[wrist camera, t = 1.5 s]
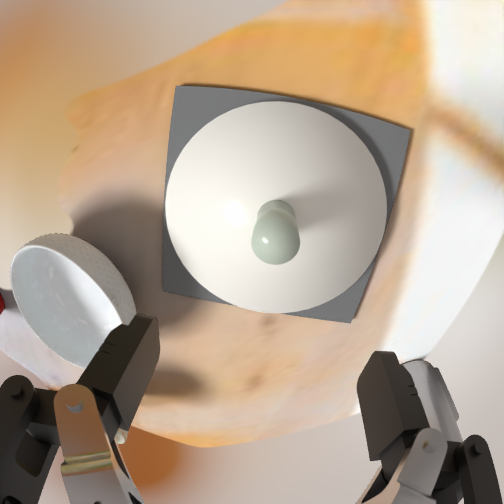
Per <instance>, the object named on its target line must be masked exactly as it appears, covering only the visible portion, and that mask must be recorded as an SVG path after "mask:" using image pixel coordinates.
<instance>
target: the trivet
mask: <svg viewBox="0 0 504 504" xmlns="http://www.w3.org/2000/svg"><path fill="white" fill-rule="evenodd" d="M272 101H282V102H291V103H298V104H302V105H306V106H309V107H313V108H315V109H318V110H320V111H322V112H325V113H327V114H329V115H331V116H332V117H334V118H335V119H337V120H339V121H340V122H342V123H343V124H344V125H346V126H347V127H348V128H349V129H350V130H352V131H353V132H354V133H355V134H356V135H357V136H358V137H359V139H360V140H361V141H362V142H363V143H364V144H365V146H366V147H367V148H368V150H369V151H370V153H371V154H372V156H373V158H374V160H375V162H376V164H377V166H378V168H379V170H380V173H381V176H382V179H383V183H384V187H385V193H386V199H387V216H386V225H385V230H386V227H387V223H388V220H389V217H390V213H391V210H392V206H393V203H394V199H395V196H396V192H397V188H398V184H399V180H400V176H401V172H402V168H403V164H404V159H405V155H406V150H407V145H408V140H409V135H410V130H408V129H405V128H402V127H399V126H397V125H394V124H391V123H388V122H385V121H382V120H379V119H376V118H373V117H369V116H366V115H363V114H359V113H356V112H352V111H349V110H345V109H341V108H337V107H333V106H329V105H325V104H321V103H316V102H312V101H307V100H302V99H297V98H292V97H286V96H280V95H274V94H268V93H261V92H253V91H245V90H236V89H226V88H214V87H198V86H176V88H175V95H174V102H173V109H172V117H171V125H170V134H169V144H168V154H167V166H166V179H165V195H164V216H163V291H165V292H169V293H174V294H179V295H183V296H188V297H193V298H198V299H203V300H208V301H213V302H218V303H223V304H228V305H233V304H231V303H229V302H227V301H224V300H222V299H221V298H219V297H217V296H216V295H214V294H213V293H211V292H210V291H208V290H207V289H206V288H205V287H203V286H202V285H201V284H200V283H199V282H198V281H197V280H196V279H195V278H194V277H193V276H192V275H191V274H190V273H189V271H188V270H187V269H186V267H185V266H184V265H183V263H182V262H181V260H180V258H179V257H178V255H177V253H176V251H175V248H174V246H173V244H172V242H171V238H170V235H169V231H168V228H167V221H166V210H165V200H166V192H167V186H168V182H169V178H170V174H171V172H172V169H173V167H174V165H175V162H176V160H177V158H178V157H179V155H180V153H181V152H182V150H183V148H184V147H185V146H186V145H187V143H188V142H189V141H190V140H191V138H192V137H193V136H194V135H195V134H196V133H197V132H198V131H199V130H201V129H202V128H203V127H204V126H205V125H206V124H208V123H209V122H211V121H212V120H214V119H215V118H217V117H218V116H220V115H222V114H224V113H226V112H228V111H230V110H232V109H235V108H238V107H242V106H245V105H248V104H253V103H259V102H272ZM385 230H384V233H385ZM383 236H384V234H383ZM382 239H383V238H382ZM381 242H382V241H381ZM380 245H381V244H380ZM379 248H380V246H379ZM379 248H378V251H379ZM378 251H377V253H376V255H375V257H374V259H373V260H372V262H371V264H370V265H369V267H368V268H367V269H366V271H365V272H364V273H363V275H362V276H361V277H360V278H359V279H358V280H357V281H356V282H355V283H354V284H353V285H352V286H350V287H349V288H348V289H347V290H346V291H344V292H343V293H341V294H340V295H338V296H337V297H335V298H334V299H332V300H330V301H328V302H326V303H323V304H321V305H319V306H316V307H313V308H310V309H306V310H302V311H297V312H289V313H281V314H287V315H294V316H300V317H307V318H314V319H321V320H329V321H337V322H345V323H351V321H352V319H353V316H354V314H355V312H356V309H357V307H358V304H359V302H360V299H361V297H362V295H363V292H364V289H365V287H366V284H367V282H368V279H369V276H370V274H371V271H372V268H373V265H374V263H375V260H376V257H377V254H378ZM234 306H236V305H234Z"/></svg>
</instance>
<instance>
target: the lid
mask: <svg viewBox="0 0 504 504" xmlns="http://www.w3.org/2000/svg"><path fill="white" fill-rule="evenodd" d="M165 210H166V221H167V228H168V231H169V235H170V238H171V242H172V244H173V246H174V248H175V251H176V253H177V255H178V257H179V258H180V260H181V262H182V263H183V265H184V266H185V267H186V269H187V270H188V271H189V273H190V274H191V275H192V276H193V277H194V278H195V279H196V280H197V281H198V282H199V283H200V284H201V285H202V286H203V287H205V288H206V289H207V290H208V291H210V292H211V293H213V294H214V295H216V296H217V297H219V298H221V299H222V300H224V301H227V302H229V303H231V304H233V305H236V306H238V307H241V308H244V309H248V310H253V311H257V312H265V313H289V312H297V311H302V310H306V309H310V308H313V307H316V306H319V305H321V304H323V303H326V302H328V301H330V300H332V299H334V298H335V297H337V296H338V295H340V294H341V293H343V292H344V291H346V290H347V289H348V288H349V287H350V286H352V285H353V284H354V283H355V282H356V281H357V280H358V279H359V278H360V277H361V276H362V275H363V273H364V272H365V271H366V269H367V268H368V267H369V265H370V264H371V262H372V260H373V259H374V257H375V255H376V253H377V251H378V248H379V246H380V244H381V241H382V238H383V234H384V230H385V225H386V216H387V199H386V193H385V187H384V183H383V179H382V176H381V173H380V170H379V168H378V166H377V164H376V162H375V160H374V158H373V156H372V154H371V153H370V151H369V150H368V148H367V147H366V146H365V144H364V143H363V142H362V141H361V140H360V139H359V137H358V136H357V135H356V134H355V133H354V132H353V131H352V130H350V129H349V128H348V127H347V126H346V125H344V124H343V123H342V122H340V121H339V120H337V119H335V118H334V117H332V116H331V115H329V114H327V113H325V112H322V111H320V110H318V109H315V108H313V107H309V106H306V105H302V104H298V103H291V102H282V101H272V102H259V103H253V104H248V105H245V106H242V107H238V108H235V109H232V110H230V111H228V112H226V113H224V114H222V115H220V116H218V117H217V118H215V119H214V120H212V121H211V122H209V123H208V124H206V125H205V126H204V127H203V128H202V129H201V130H199V131H198V132H197V133H196V134H195V135H194V136H193V137H192V138H191V140H190V141H189V142H188V143H187V145H186V146H185V147H184V148H183V150H182V152H181V153H180V155H179V157H178V158H177V160H176V162H175V165H174V167H173V169H172V172H171V174H170V178H169V182H168V186H167V192H166V200H165Z"/></svg>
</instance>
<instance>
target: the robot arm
mask: <svg viewBox="0 0 504 504" xmlns="http://www.w3.org/2000/svg"><path fill="white" fill-rule="evenodd" d="M159 355H160V341H159V329H158V320H157V318H154V317H150V316H146V315H142V314H136V315H135V316H134V317H133V319H132V320H131V322H130V323H129V325H125V324H120V325H119V326H117V327H116V328H114V329H113V330H111V331H110V333H109V334H108V336H107V337H106V339H105V340H104V343H102V345H101V346H100V348H99V350H98V351H97V352H96V354H95V355H94V357H93V358H92V360H91V361H90V363H89V364H88V366H87V367H86V369H85V371H84V372H83V374H82V375H81V377H80V379H79V380H78V381H77V383H76V384H70V385H66V386H64V387H62V388H61V389H60V390H59V391H52V390H45V389H39V388H34V386H33V385H32V383H31V381H30V380H29V379H28V378H26V377H24V376H21V375H14V376H11V377H9V378H8V379H6V380H5V381H4V383H3V384H2V385H1V387H0V504H38V501H39V498H40V495H41V492H42V489H43V486H44V484H45V481H46V478H47V476H48V473H49V470H50V467H51V465H52V462H53V460H54V457H55V455H56V453H57V450H58V448H59V446H61V447H62V452H63V456H64V463H62V464H61V474H62V478H63V481H64V484H65V488H66V491H67V494H68V497H69V500H70V503H71V504H145V503H144V501H143V499H142V498H141V495H140V494H139V492H138V490H137V488H136V487H135V485H134V483H133V481H132V479H131V477H130V475H129V472H128V470H127V467H126V465H125V463H124V460H123V458H122V455H121V452H120V450H119V447H118V444H117V442H116V439H115V435H116V433H117V431H118V428H120V429H123V430H125V431H129V428H130V426H131V423H132V421H133V418H134V416H135V414H136V411H137V409H138V406H139V404H140V402H141V399H142V397H143V395H144V392H145V390H146V388H147V385H148V383H149V381H150V378H151V376H152V374H153V372H154V369H155V367H156V365H157V362H158V359H159ZM357 394H358V398H359V403H360V408H361V413H362V418H363V423H364V429H365V434H366V439H367V445H368V451H369V458H370V461H376V460H381V463H382V465H381V466H380V467H379V468H378V470H377V471H376V473H375V475H374V476H373V478H372V480H371V482H370V483H369V484H368V486H367V488H366V489H365V491H364V492H363V494H362V495H361V497H360V498H359V499H358V501H357V503H356V504H458V503H459V501H460V500H461V499H462V498H463V497H464V504H503V503H502V498H501V493H500V489H499V484H498V479H497V475H496V471H495V468H494V464H493V460H492V457H491V454H490V450H489V447H488V444H487V442H486V441H485V439H484V438H482V437H481V436H479V435H471V436H469V437H468V438H467V439H466V440H465V441H463V440H462V438H461V434H460V432H459V429H458V426H457V423H456V421H457V420H458V418H459V415H458V412H457V410H456V407H455V405H454V402H453V400H452V398H451V395H450V393H449V391H448V389H447V386H446V384H445V382H444V380H443V378H442V375H441V373H440V371H439V369H438V368H434V367H433V366H432V365H431V364H430V363H429V362H427V361H423V360H417V361H411V362H408V363H405V364H403V365H400V364H399V361H398V359H397V356H396V354H395V353H394V352H388V351H375V352H374V353H373V354H372V355H371V357H370V359H369V361H368V363H367V364H366V366H365V368H364V369H363V371H362V373H361V374H360V376H359V378H358V382H357Z"/></svg>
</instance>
